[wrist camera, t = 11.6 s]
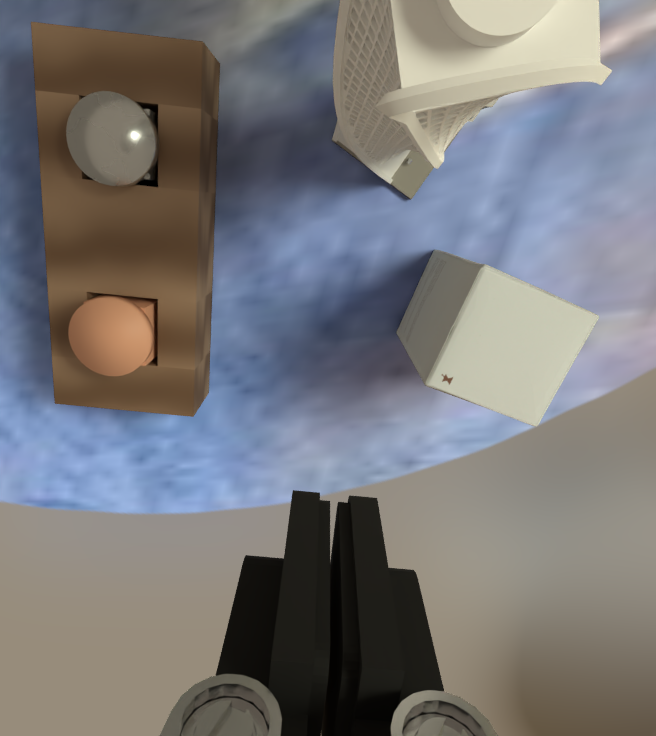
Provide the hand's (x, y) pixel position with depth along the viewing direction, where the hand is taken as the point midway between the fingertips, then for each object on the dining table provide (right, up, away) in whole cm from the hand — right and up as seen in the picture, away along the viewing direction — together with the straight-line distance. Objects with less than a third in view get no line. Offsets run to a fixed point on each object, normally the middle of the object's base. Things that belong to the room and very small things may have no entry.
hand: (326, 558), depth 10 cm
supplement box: (+10, +9, +30) cm, 33 cm away
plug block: (-14, +14, +28) cm, 34 cm away
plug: (-13, +19, +26) cm, 35 cm away
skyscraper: (+4, +21, +26) cm, 34 cm away
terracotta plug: (-14, +8, +29) cm, 33 cm away
